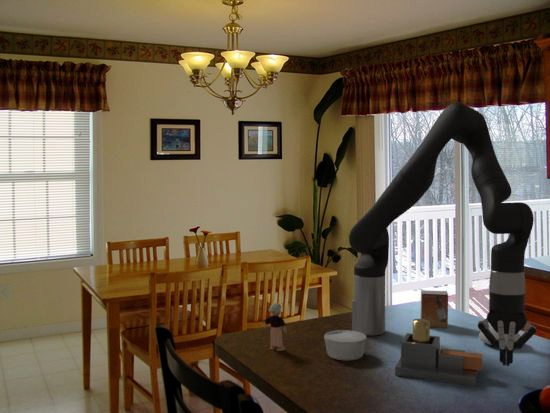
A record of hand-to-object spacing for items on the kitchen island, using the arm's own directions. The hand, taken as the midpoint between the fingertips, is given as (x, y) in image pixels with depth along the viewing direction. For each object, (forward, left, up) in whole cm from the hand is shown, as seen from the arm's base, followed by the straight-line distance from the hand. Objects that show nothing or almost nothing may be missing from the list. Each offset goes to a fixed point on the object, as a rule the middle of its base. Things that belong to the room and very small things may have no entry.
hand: (505, 364), depth 130 cm
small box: (-21, +41, -4) cm, 46 cm away
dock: (-15, 0, -4) cm, 16 cm away
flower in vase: (-1, +29, -4) cm, 29 cm away
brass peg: (-19, 0, -2) cm, 19 cm away
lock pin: (-10, 0, -2) cm, 10 cm away
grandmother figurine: (-58, +2, -4) cm, 58 cm away
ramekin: (-39, +4, -4) cm, 40 cm away
